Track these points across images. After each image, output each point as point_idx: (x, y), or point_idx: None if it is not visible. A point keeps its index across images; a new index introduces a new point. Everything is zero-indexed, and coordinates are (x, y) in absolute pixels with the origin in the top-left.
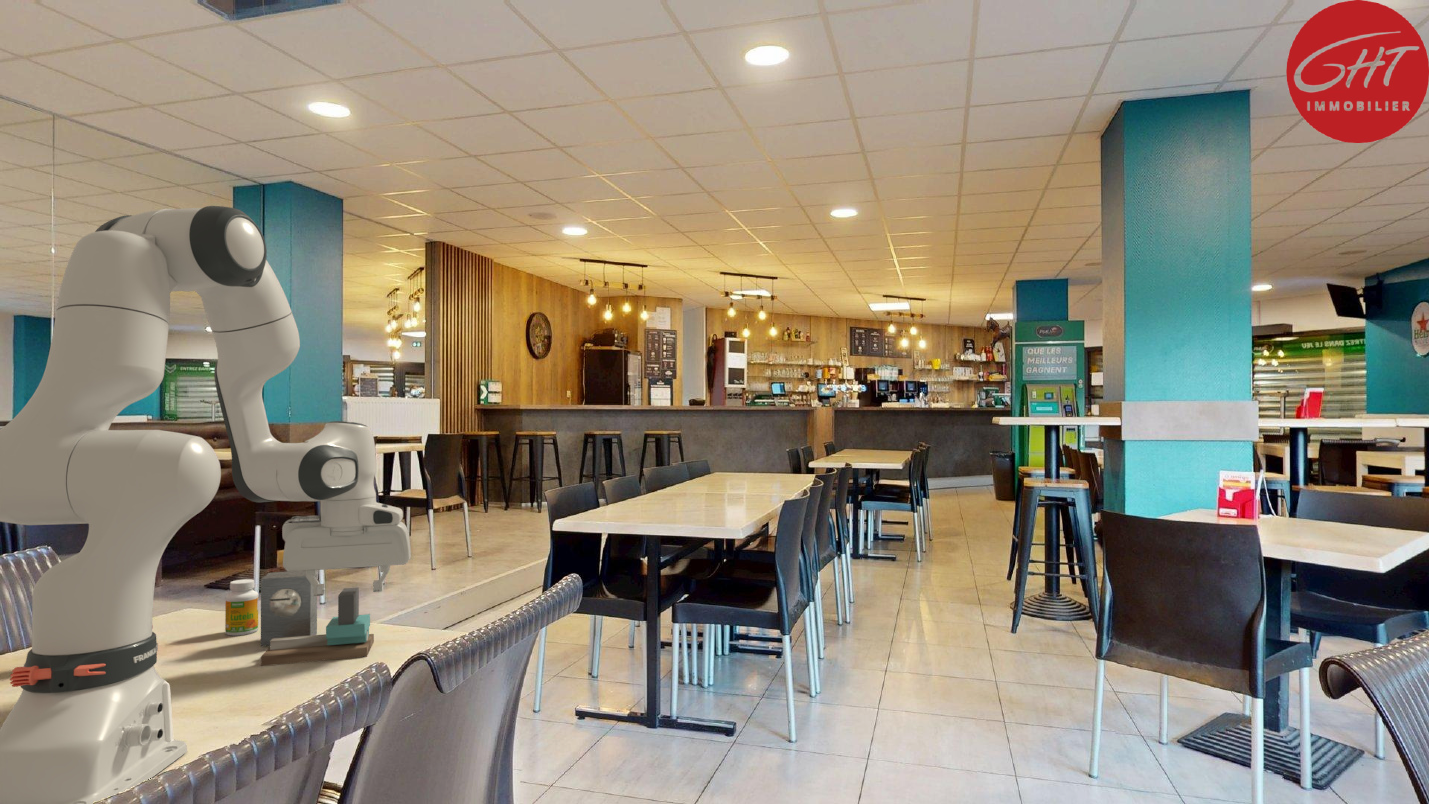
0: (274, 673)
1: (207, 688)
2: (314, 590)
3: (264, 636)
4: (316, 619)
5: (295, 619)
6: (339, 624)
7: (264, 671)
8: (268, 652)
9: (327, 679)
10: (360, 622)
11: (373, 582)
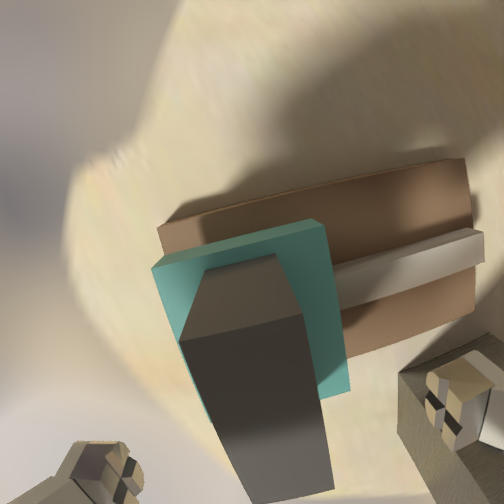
0: (383, 78)
1: (459, 15)
2: (488, 365)
3: (497, 346)
4: (411, 453)
5: None
6: (269, 255)
7: (418, 104)
8: (462, 200)
9: (198, 10)
10: (183, 296)
11: (97, 481)
